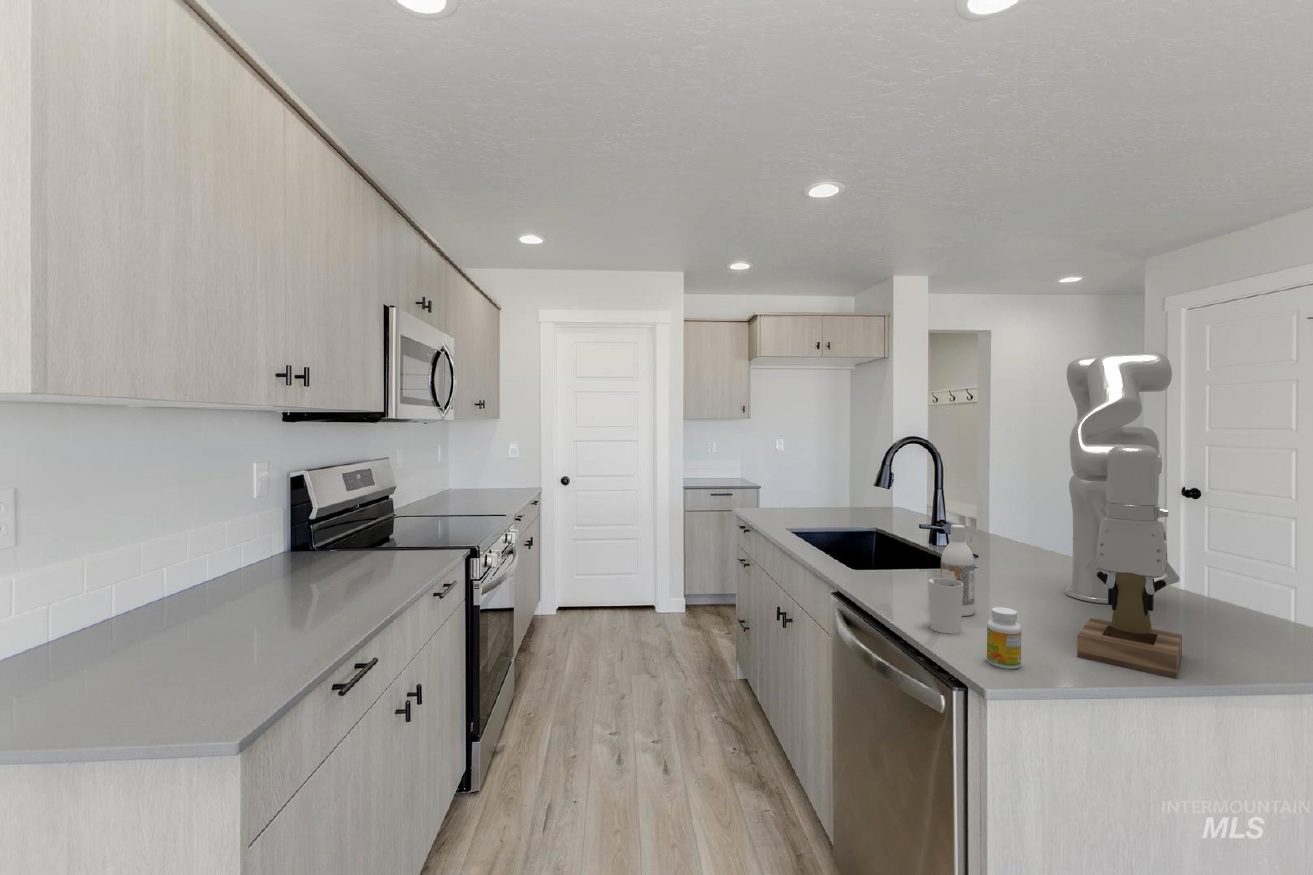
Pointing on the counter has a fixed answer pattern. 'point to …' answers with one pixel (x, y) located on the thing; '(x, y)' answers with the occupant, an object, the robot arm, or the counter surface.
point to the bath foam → (960, 566)
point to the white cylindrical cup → (945, 605)
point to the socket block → (1131, 648)
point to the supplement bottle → (1004, 639)
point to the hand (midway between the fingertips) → (1130, 610)
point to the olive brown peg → (1130, 604)
